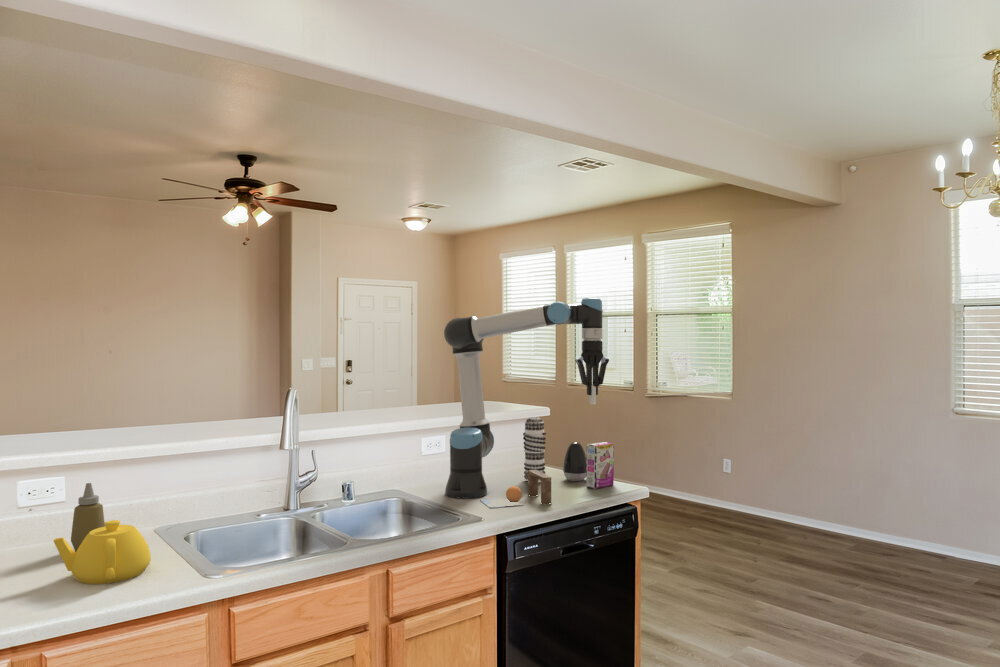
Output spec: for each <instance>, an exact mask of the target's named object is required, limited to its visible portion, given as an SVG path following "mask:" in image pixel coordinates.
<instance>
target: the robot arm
mask: <svg viewBox="0 0 1000 667" xmlns="http://www.w3.org/2000/svg"><path fill="white" fill-rule="evenodd" d="M554 325H555V326H556V325H581V354H580V357H579V358H576V359H575V363H576V364H577V367H578V372H579V376H580V381H581V384H582V385H583V386H586V395H588V404H589V405H596V404H597V396H598V394H599V387H600V385H603V383H604V380H605V375H606V370H607V366H608V364H609V362H610V359H609V358H606V357H605V356H604V353H603V341H602V339H603V301H602V300H601V298H597V297H586V298H585V297H584V298H582V299H581V303H566V302H564V301H554V302H552V303H549V304H543V305H542V304H541V305H537V306H534V307H528V308H524V309H518V310H512V311H507V312H502V313H497V314H492V315H488V316H482V317H477V316H474V315H473V316H468V317H456V318H452V319H451V320H449V321H448V322H447V323H446V325H445V327H444V330H443V331H444V332H443V335H444V340H445V341H446V343H447V344H448V345H449V346H450V347H452V348H451V350H452V355H453V356H454V357H456V360H457V368H458V369H457V370H458V378H459V379H458V380H459V390H460V391H459V392H460V402H461V411H462V413H461V414H462V421H461V422H460V424H459V428H455V429H454V430H452V431H451V432H450V436H449V458H450V460H449V470H450V471H449V472H450V473H449V475H448V479H447V482H446V485H445V496H447V497H448V498H449V497H450V498H455V499H475V498H482V497H485V496H487V494H488V487H487V483H486V481H485V477H484V474H483V458H485V457H486V456H488V455H489V454H490V453H491V451H492V450H493V448H494V445H495V437H494V434H493V432H492V431H491V426H490V424H491V423H490V421H489V420H488V419H487V418H486V412H485V402H484V393H483V391H484V390H483V383H482V382H483V380H482V379H483V378H482V370H481V360H480V356H481V355H482V354H483V352H484V349H483V348H484V347H483V342H484V339H485V338H492V337H496V336H501V335H502V336H503V335H509V334H513V333H516V332H517V333H518V332H522V331H529V330H533V329H538V328H544V327H548V326H554ZM584 363H585V366H584Z"/></svg>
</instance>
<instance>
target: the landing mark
mask: <svg viewBox="0 0 1000 667" xmlns="http://www.w3.org/2000/svg"><path fill="white" fill-rule="evenodd" d="M489 499H490V498H489ZM489 499H488V498H485V499H480V500H481V501H482V502H481V501H480V502H481V503H482V504H484V505H485V504H486V505H488V504H490V503H492V502H488V501H490V500H489ZM493 499H494V500H496V499H497V498H493ZM485 502H487V503H485ZM486 505H485V506H486ZM493 507H501V506H499V505H498V506H493Z"/></svg>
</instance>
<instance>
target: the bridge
mask: <svg viewBox="0 0 1000 667" xmlns="http://www.w3.org/2000/svg"><path fill="white" fill-rule="evenodd" d="M538 479H540V480H541V483H540V504H541V503H542V504H549V503H551V504H552V477H551V476H549V475H548V474H546V473H545V474H544V473H542V472H540V471H538V470H528V482H527V483H528V488H527V489H528V492H527V494H528V495H530V496H536V495H538V496H539V483H538ZM530 496H529V497H530ZM536 497H537V496H536ZM542 504H541V505H542Z"/></svg>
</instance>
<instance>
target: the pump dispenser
mask: <svg viewBox="0 0 1000 667" xmlns="http://www.w3.org/2000/svg"><path fill="white" fill-rule="evenodd" d="M586 466H587V453H586V451H585V449H584V447H583V445H582V444H581V443H580V442H577V441H573V442H571V443H570V444H569V445H568V447H567V448H566V452H565V454H564V459H563V464H562V472H563V475H564V477H565V478H566V479H567V480H568V481H570V482H581V481H583V480H586Z"/></svg>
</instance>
